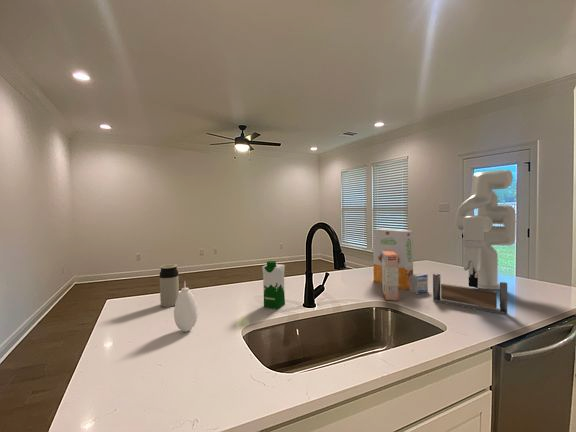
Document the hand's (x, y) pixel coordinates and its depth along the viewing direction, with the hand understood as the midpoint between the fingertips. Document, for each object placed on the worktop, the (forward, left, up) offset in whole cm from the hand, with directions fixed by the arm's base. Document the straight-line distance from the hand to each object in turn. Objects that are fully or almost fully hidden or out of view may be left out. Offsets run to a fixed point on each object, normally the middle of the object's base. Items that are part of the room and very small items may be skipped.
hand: (473, 286), depth 128 cm
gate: (+6, -1, -6) cm, 9 cm away
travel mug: (+85, -105, -8) cm, 135 cm away
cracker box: (+12, -32, -8) cm, 35 cm away
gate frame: (+6, -1, -7) cm, 9 cm away
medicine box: (-4, -24, -8) cm, 25 cm away
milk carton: (+56, -66, -8) cm, 87 cm away
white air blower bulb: (+95, -72, -8) cm, 120 cm away
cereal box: (-10, -40, -8) cm, 42 cm away
